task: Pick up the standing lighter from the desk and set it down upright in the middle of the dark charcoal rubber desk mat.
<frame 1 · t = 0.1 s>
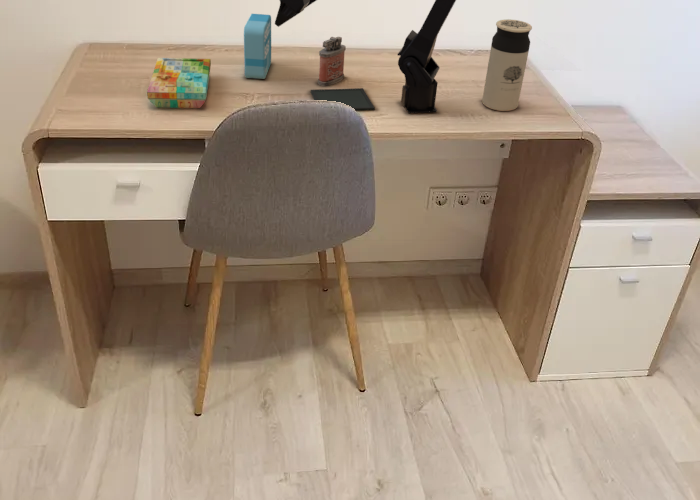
hand: (284, 19, 161), 15 cm above the table, tool tilted 30°, fingers open, 9 cm apart
travel mug: (499, 105, 167), on the table
lighter: (331, 81, 173), on the table
data package: (258, 72, 175), on the table
puzzle game: (181, 92, 162), on the table
desk mat: (341, 101, 163), on the table
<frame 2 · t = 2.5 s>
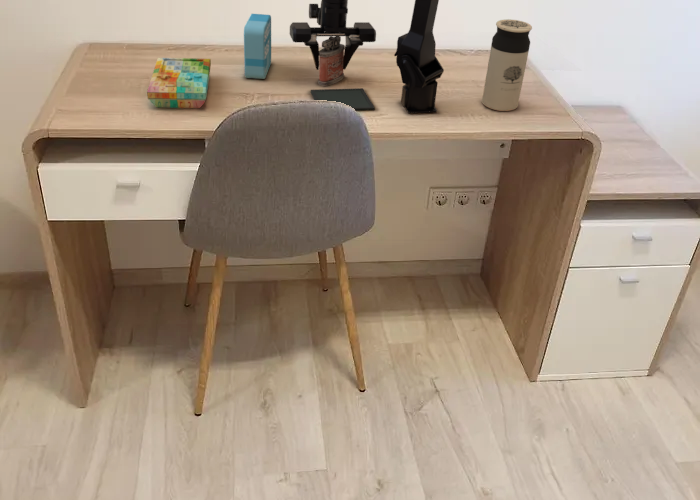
hand: (330, 69, 171), 3 cm above the table, tool pointing down, fingers closed on lighter, 6 cm apart
lighter: (331, 81, 173), on the table, touching gripper
everything else where it was.
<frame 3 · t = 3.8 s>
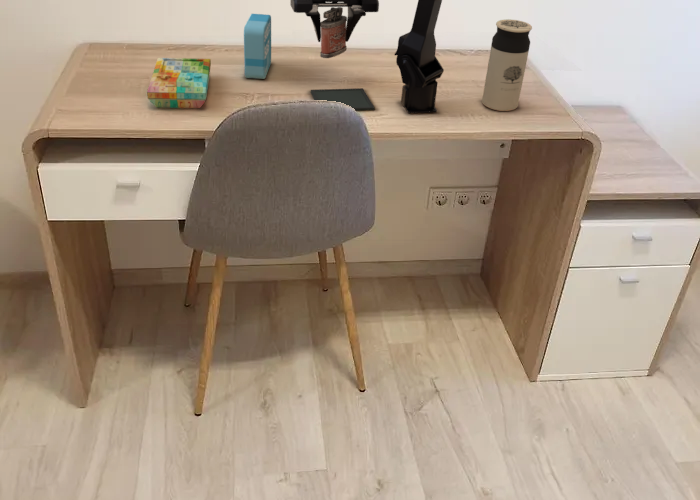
hand: (332, 41, 167), 9 cm above the table, tool pointing down, fingers closed on lighter, 6 cm apart
lighter: (333, 53, 169), point 6 cm above the table, touching gripper
everything else where it was.
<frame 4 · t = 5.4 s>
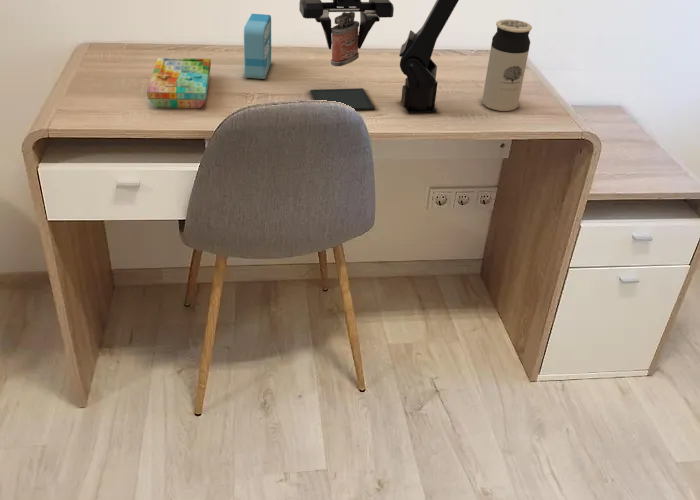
hand: (344, 48, 158), 11 cm above the table, tool pointing down, fingers closed on lighter, 6 cm apart
lighter: (345, 61, 159), point 9 cm above the table, touching gripper
everything else where it was.
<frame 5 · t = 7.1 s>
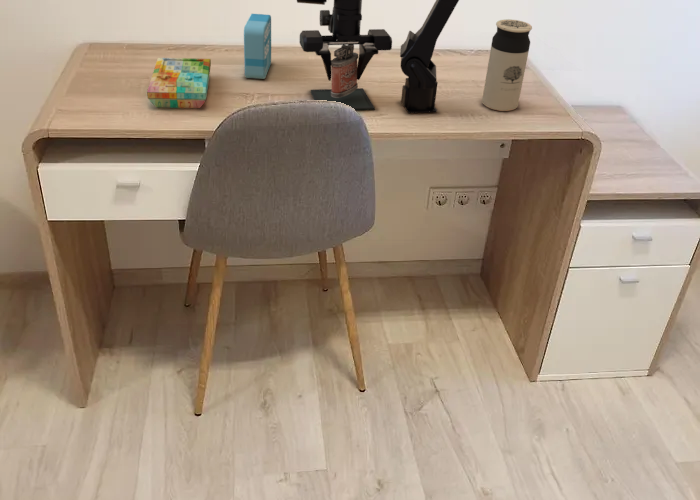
hand: (343, 79, 160), 5 cm above the table, tool pointing down, fingers closed on lighter, 6 cm apart
lighter: (344, 92, 162), point 2 cm above the table, touching gripper
everything else where it was.
when the fingers open (3 cm above the table, at t = 8.2 s): lighter stays where it is, resting on desk mat.
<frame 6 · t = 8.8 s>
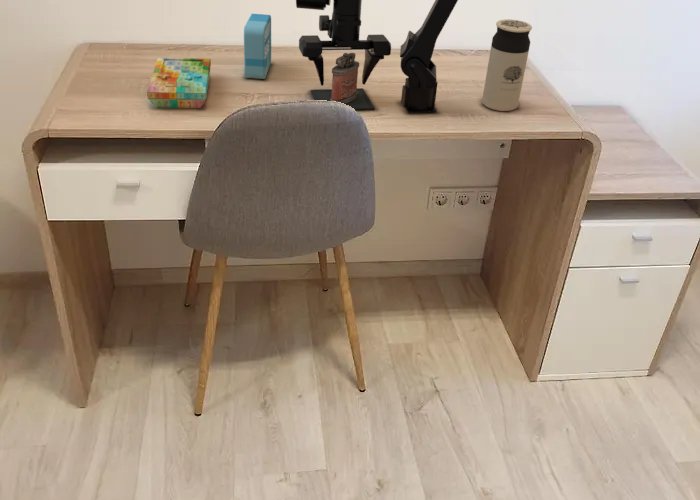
hand: (342, 84, 161), 4 cm above the table, tool pointing down, fingers open, 9 cm apart
lighter: (343, 99, 163), resting on desk mat
everything else where it was.
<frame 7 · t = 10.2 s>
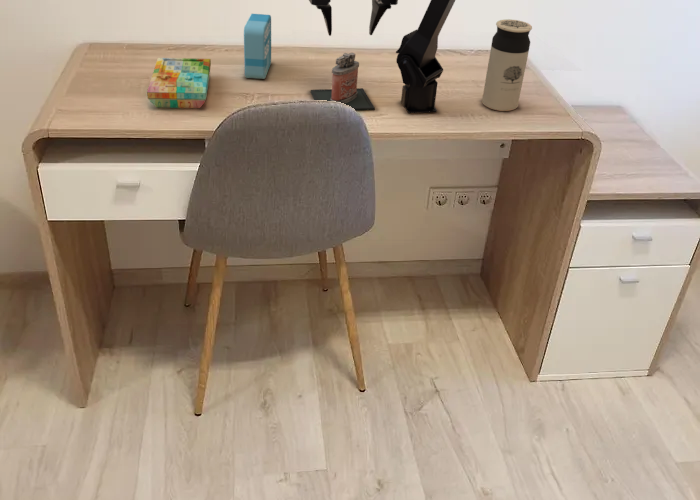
hand: (350, 34, 163), 12 cm above the table, tool pointing down, fingers open, 9 cm apart
nothing on the table moved.
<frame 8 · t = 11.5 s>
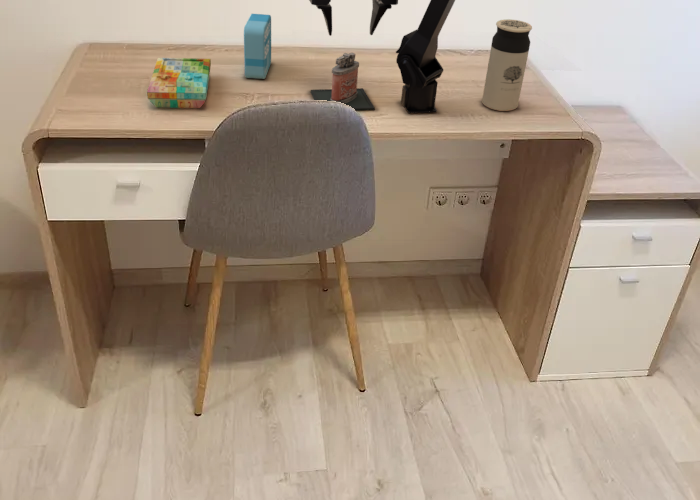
hand: (350, 34, 163), 12 cm above the table, tool pointing down, fingers open, 9 cm apart
nothing on the table moved.
at the end: lighter inside the target area on the desk mat (0.4 cm from its centre), point 0.3 cm above the desk mat's base; lighter tilted 0°; the gripper is holding nothing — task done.
